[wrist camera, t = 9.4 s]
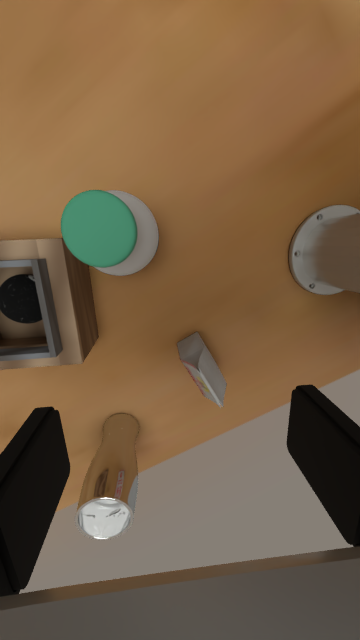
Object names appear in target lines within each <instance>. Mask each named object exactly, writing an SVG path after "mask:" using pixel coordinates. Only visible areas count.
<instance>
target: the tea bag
mask: <svg viewBox="0 0 360 640" xmlns="http://www.w3.org/2000/svg"><path fill="white" fill-rule="evenodd" d="M177 346H178V350H179V355H180V360H181V361H182V363H183V364H184V366H185V367H186V369H187V370H188V372H189V374H190V375H191V377H192V378H193V380H194V381H195V383H196V384H197V386H198V388H199V389H200V391H201V392H202V394H203V395H204V396H205V397H206V398H208V399H210V400H211V401H213V402H215V403H216V404H217V405H219V407H220V404H221V405H222V406H223V400H224V394H225V389H226V385H227V383H226V381H225V379H224V377H223V375H222V373H221V372H220V370H219V368H218V366H217V364H216V362H215V360H214V359H213V357H212V355H211V354H210V352H209V350H208V349H207V347H206V345H205V344H204V342H203V340H202V339H201V337H200V335H199V333H198V332H195V333H194V334H192V335H190V336H188V337H187V338H185V339H183V340H182V341H180V342H178V343H177ZM219 403H220V404H219ZM220 408H221V407H220Z"/></svg>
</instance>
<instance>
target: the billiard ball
mask: <svg viewBox="0 0 360 640" xmlns="http://www.w3.org/2000/svg"><path fill="white" fill-rule="evenodd" d="M0 311H1V312H2V313H3V314H4V315H5V316H6V317H7V318H9V319H11V320H13V321H15V322H19V323H24V324H30V323H36V322H38V321H41V320H42V314H41V309H40V304H39V299H38V294H37V289H36V284H35V280H34V276H32V275H28V274H19V275H15V276H12V277H10V278H8V279H7V280H5V281H4V282H3V283H2V285H1V286H0Z"/></svg>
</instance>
